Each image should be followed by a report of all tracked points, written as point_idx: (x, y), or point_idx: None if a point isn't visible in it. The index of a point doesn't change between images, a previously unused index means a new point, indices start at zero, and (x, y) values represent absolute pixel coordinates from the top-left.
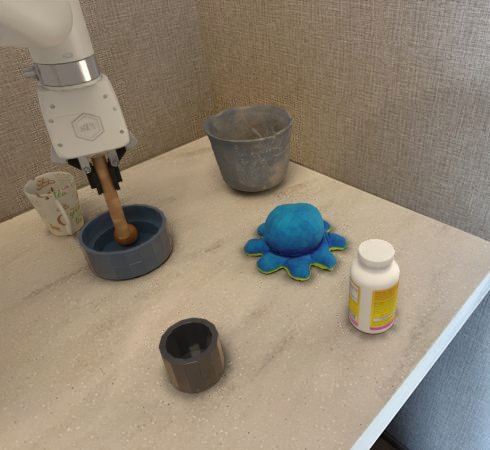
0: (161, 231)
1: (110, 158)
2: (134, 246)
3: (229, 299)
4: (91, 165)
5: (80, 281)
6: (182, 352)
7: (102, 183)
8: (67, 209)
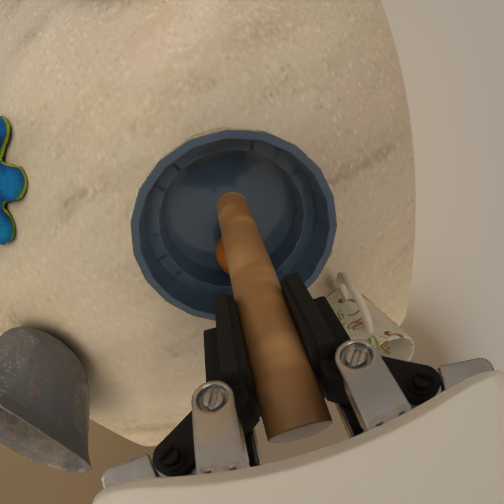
0: (136, 200)
1: (231, 422)
2: None
3: (55, 59)
4: (330, 385)
5: (320, 156)
6: None
7: (282, 312)
8: (349, 322)
